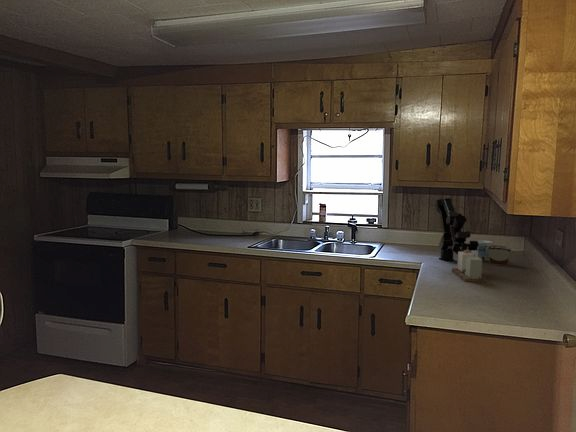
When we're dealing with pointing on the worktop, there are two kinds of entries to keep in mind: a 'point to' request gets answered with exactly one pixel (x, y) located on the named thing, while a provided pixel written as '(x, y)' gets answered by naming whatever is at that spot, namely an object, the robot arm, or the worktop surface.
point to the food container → (499, 255)
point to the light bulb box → (482, 250)
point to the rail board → (466, 278)
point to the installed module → (473, 267)
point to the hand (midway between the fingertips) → (462, 258)
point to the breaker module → (463, 259)
